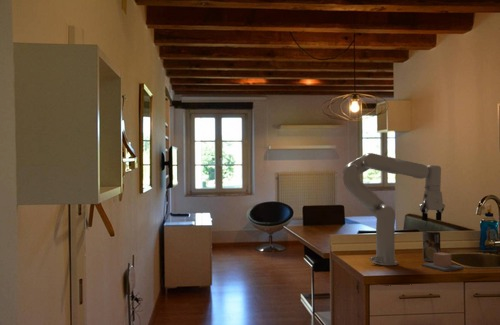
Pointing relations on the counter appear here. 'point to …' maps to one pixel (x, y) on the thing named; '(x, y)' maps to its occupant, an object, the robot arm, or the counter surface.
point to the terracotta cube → (442, 259)
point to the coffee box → (430, 244)
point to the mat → (449, 268)
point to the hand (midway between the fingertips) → (431, 220)
